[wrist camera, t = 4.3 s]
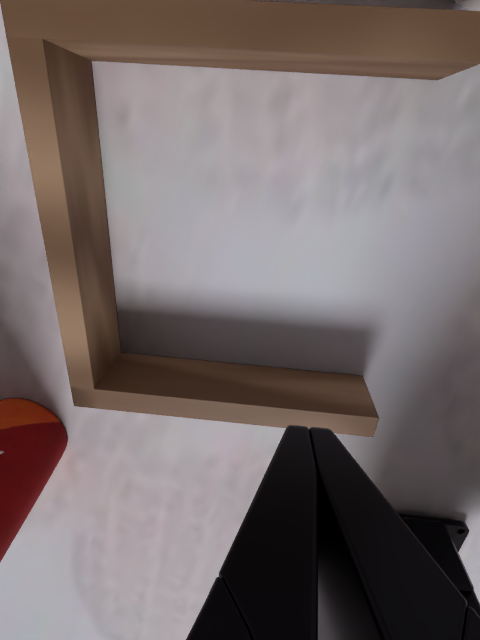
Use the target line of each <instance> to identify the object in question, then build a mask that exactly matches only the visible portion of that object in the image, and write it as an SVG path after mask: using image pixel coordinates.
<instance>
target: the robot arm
mask: <svg viewBox="0 0 480 640" xmlns="http://www.w3.org/2000/svg"><path fill="white" fill-rule="evenodd" d="M468 533H469V529H468V527H467V525H466V523H465V522H462V521H455V520H447V519H438V518H429V517H420V516H411V515H403V514H397V512H396V511H395V510H394V509H393V507H392V506H391V505H390V503H389V502H388V501H387V500H386V498H385V497H384V496H383V495H382V493H381V492H380V491H379V490H378V488H377V487H376V486H375V485H374V483H373V482H372V481H371V479H370V478H369V477H368V476H367V474H366V473H365V472H364V471H363V469H362V468H361V467H360V466H359V464H358V463H357V462H356V461H355V459H354V458H353V457H352V456H351V454H350V453H349V452H348V450H347V449H346V448H345V447H344V445H343V444H342V443H341V442H340V440H339V439H338V438H337V437H336V435H335V434H334V433H333V432H332V430H330V429H328V428H319V427H311V428H309V429H308V427H306V426H298V425H289V426H287V428H286V430H285V432H284V434H283V437H282V439H281V441H280V443H279V445H278V447H277V449H276V452H275V454H274V456H273V458H272V460H271V462H270V464H269V467H268V469H267V471H266V473H265V475H264V477H263V479H262V482H261V484H260V486H259V488H258V490H257V492H256V495H255V497H254V499H253V501H252V503H251V505H250V507H249V510H248V512H247V514H246V516H245V518H244V520H243V522H242V525H241V527H240V529H239V531H238V533H237V535H236V537H235V540H234V542H233V544H232V546H231V548H230V550H229V553H228V555H227V557H226V559H225V561H224V563H223V565H222V568H221V570H220V572H219V577H217V578H216V580H215V582H214V584H213V586H212V588H211V590H210V592H209V595H208V597H207V599H206V601H205V603H204V605H203V607H202V609H201V611H200V613H199V615H198V617H197V619H196V621H195V623H194V625H193V627H192V629H191V631H190V633H189V635H188V637H187V639H186V640H480V603H479V601H478V599H477V597H476V594H475V592H474V590H473V589H474V588H473V585H472V582H471V580H470V578H469V576H468V574H467V571H466V569H465V567H464V565H463V562H462V560H461V558H460V556H459V554H458V552H459V550H460V548H461V546H462V544H463V542H464V540H465V538H466V537H467V535H468Z"/></svg>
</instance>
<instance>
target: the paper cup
mask: <svg viewBox="0 0 480 640" xmlns="http://www.w3.org/2000/svg"><path fill="white" fill-rule="evenodd" d="M67 442H68V437H67V432H66V429H65V427H64V425H63V424H62V422H61V421H60V420H59V418H58V417H57V416H56V415H55V414H54V413H52V412H51V411H50V410H48V409H47V408H45V407H44V406H42V405H40V404H38V403H36V402H33V401H30V400H26V399H21V398H8V399H4V400H1V401H0V562H1V560H2V558H3V557H4V555H5V553H6V552H7V550H8V548H9V547H10V545H11V543H12V541H13V540H14V538H15V536H16V535H17V533H18V531H19V530H20V528H21V526H22V524H23V523H24V521H25V519H26V518H27V516H28V514H29V512H30V511H31V509H32V507H33V506H34V504H35V502H36V501H37V499H38V497H39V495H40V494H41V492H42V490H43V488H44V487H45V485H46V483H47V482H48V480H49V478H50V476H51V475H52V473H53V471H54V469H55V468H56V466H57V464H58V462H59V460H60V459H61V457H62V455H63V453H64V451H65V449H66V446H67Z"/></svg>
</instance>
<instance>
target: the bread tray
mask: <svg viewBox="0 0 480 640" xmlns="http://www.w3.org/2000/svg"><path fill="white" fill-rule="evenodd" d="M0 4H1V9H2V15H3V20H4V26H5V31H6V37H7V42H8V47H9V53H10V58H11V64H12V69H13V75H14V80H15V86H16V91H17V97H18V102H19V108H20V113H21V119H22V124H23V129H24V135H25V140H26V146H27V151H28V157H29V162H30V168H31V173H32V179H33V184H34V190H35V195H36V201H37V206H38V211H39V217H40V222H41V228H42V233H43V239H44V244H45V250H46V255H47V261H48V266H49V272H50V277H51V283H52V288H53V294H54V299H55V304H56V310H57V315H58V321H59V326H60V332H61V337H62V343H63V348H64V354H65V359H66V365H67V370H68V376H69V381H70V386H71V392H72V397H73V403H74V406H79V407H89V408H98V409H108V410H118V411H127V412H137V413H146V414H156V415H166V416H175V417H185V418H194V419H204V420H214V421H223V422H233V423H243V424H252V425H262V426H271V427H281V428H287V426H289V425H298V426H306V427H308V429H309V428H311V427H319V428H328V429H330V430H332V432H333V433H339V434H348V435H358V436H368V437H374V433H375V430H376V426H377V423H378V420H379V417H378V414H377V412H376V409H375V407H374V404H373V401H372V399H371V396H370V393H369V391H368V388H367V386H366V383H365V380H364V378H363V376H360V375H349V374H339V373H328V372H318V371H307V370H297V369H287V368H276V367H266V366H255V365H245V364H235V363H224V362H214V361H203V360H193V359H182V358H172V357H162V356H151V355H141V354H130V353H121V349H120V339H119V329H118V319H117V309H116V300H115V290H114V280H113V270H112V260H111V250H110V241H109V231H108V221H107V211H106V201H105V192H104V182H103V172H102V162H101V152H100V142H99V133H98V123H97V113H96V103H95V93H94V84H93V74H92V64H91V61H107V62H124V63H142V64H160V65H178V66H196V67H214V68H231V69H249V70H267V71H285V72H303V73H321V74H338V75H356V76H374V77H392V78H410V79H428V80H439V79H442V78H444V77H447V76H449V75H452V74H455V73H457V72H460V71H463V70H465V69H468V68H470V67H473V66H476V65H478V64H480V11H466V10H445V9H423V8H402V7H380V6H359V5H338V4H316V3H295V2H273V1H252V0H0Z"/></svg>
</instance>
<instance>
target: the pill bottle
mask: <svg viewBox="0 0 480 640" xmlns="http://www.w3.org/2000/svg"><path fill="white" fill-rule="evenodd" d="M454 1H455V2H457V3H458V4H459V5H461V6H462V7H464V8H465V9H467V10H469V11H480V0H454Z"/></svg>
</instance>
